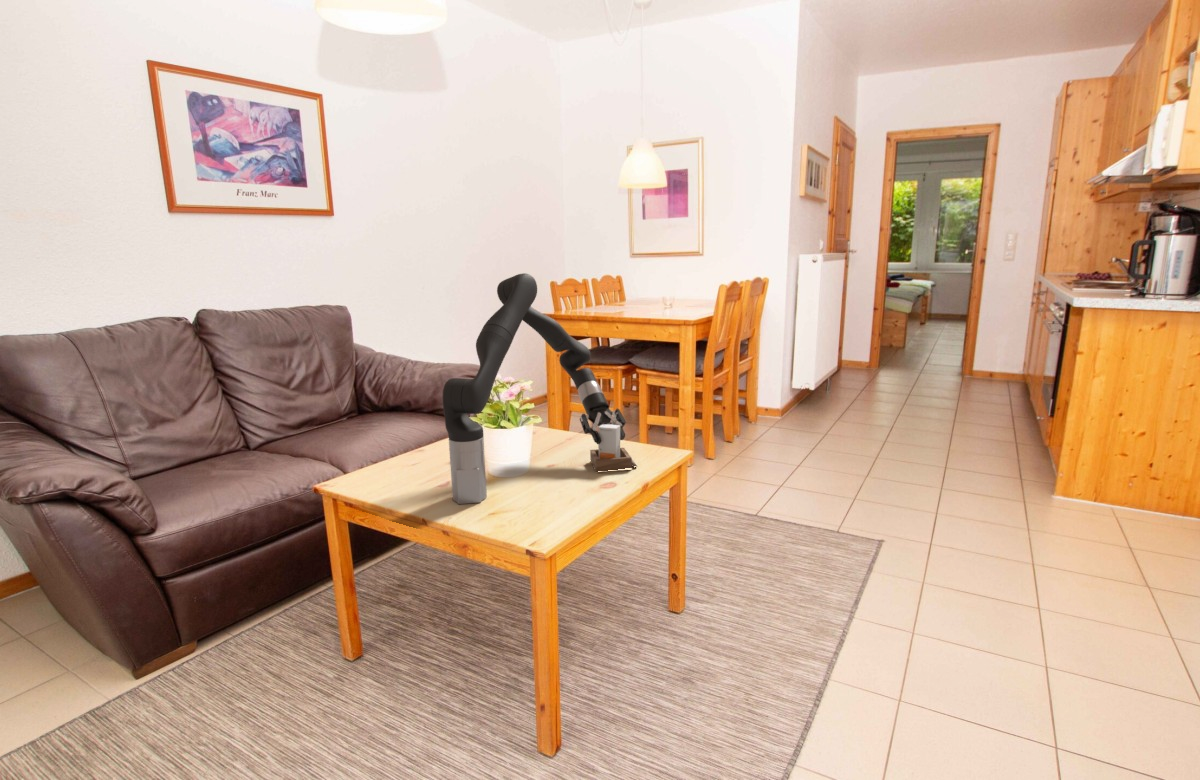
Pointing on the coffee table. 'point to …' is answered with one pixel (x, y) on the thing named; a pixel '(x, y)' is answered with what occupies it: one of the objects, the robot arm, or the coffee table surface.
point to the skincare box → (609, 441)
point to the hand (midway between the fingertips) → (611, 440)
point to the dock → (611, 461)
